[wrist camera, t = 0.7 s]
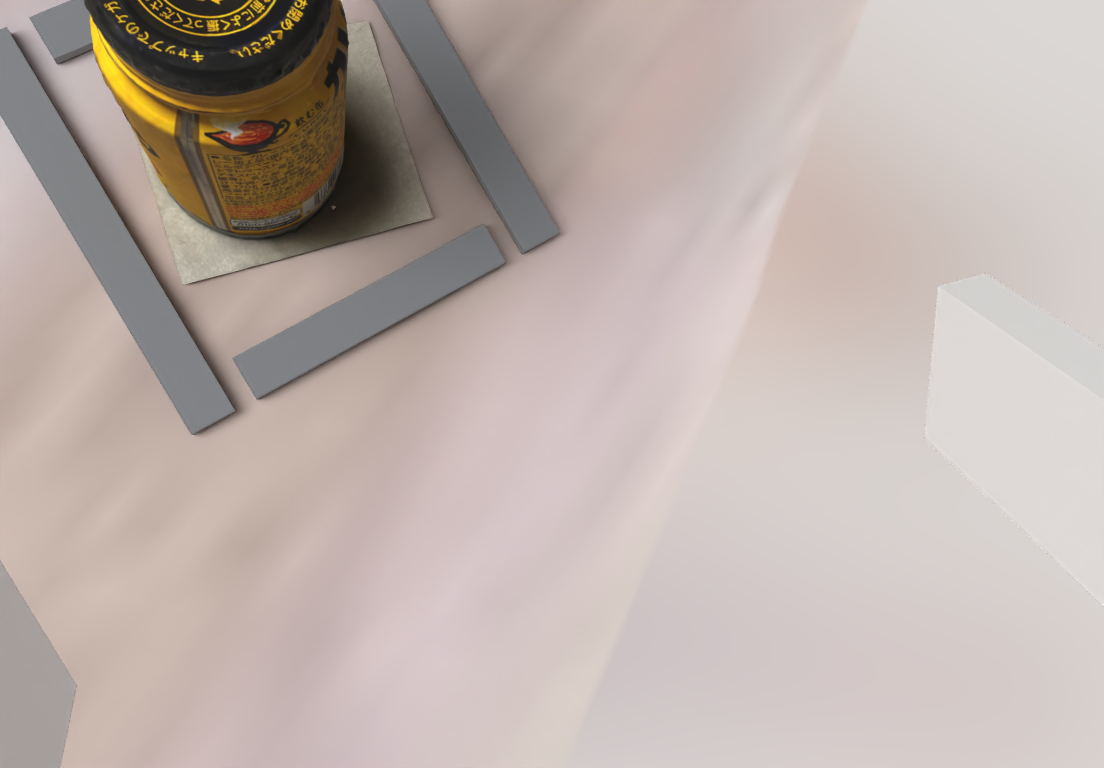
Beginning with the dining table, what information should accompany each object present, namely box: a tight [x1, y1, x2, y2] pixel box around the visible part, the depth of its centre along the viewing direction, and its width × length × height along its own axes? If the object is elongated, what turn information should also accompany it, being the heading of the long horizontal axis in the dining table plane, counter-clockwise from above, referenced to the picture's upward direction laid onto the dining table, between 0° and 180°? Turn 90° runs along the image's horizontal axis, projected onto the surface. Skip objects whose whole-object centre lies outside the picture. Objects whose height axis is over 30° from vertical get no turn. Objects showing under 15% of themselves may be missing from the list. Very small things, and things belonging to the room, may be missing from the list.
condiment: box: [84, 0, 433, 285], centre depth 26 cm, size 7×8×12 cm
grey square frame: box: [0, 0, 560, 435], centre depth 32 cm, size 14×14×1 cm
